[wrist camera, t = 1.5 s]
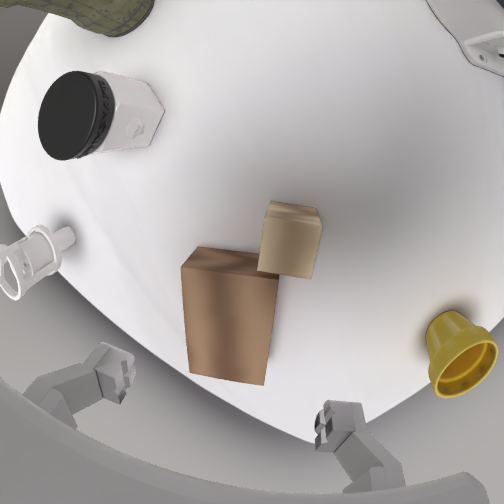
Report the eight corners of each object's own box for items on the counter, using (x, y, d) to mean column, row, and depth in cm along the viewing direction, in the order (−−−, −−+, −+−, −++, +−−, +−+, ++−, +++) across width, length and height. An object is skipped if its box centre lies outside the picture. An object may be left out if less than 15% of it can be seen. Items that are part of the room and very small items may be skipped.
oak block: (316, 208, 30) (322, 227, 23) (308, 250, 32) (311, 279, 25) (270, 200, 30) (264, 218, 24) (264, 243, 32) (257, 270, 26)
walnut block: (281, 255, 33) (278, 279, 27) (268, 355, 39) (263, 385, 33) (198, 245, 34) (180, 266, 28) (201, 344, 40) (189, 372, 34)
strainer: (89, 228, 35) (13, 274, 21) (80, 264, 38) (16, 315, 24) (59, 205, 34) (-16, 240, 20) (52, 241, 37) (-13, 282, 23)
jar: (144, 162, 30) (77, 179, 19) (97, 138, 30) (28, 148, 19) (175, 94, 27) (114, 76, 16) (124, 75, 26) (56, 60, 15)
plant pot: (407, 321, 33) (430, 370, 24) (466, 286, 30) (500, 326, 21) (420, 363, 36) (437, 408, 27) (472, 333, 33) (497, 373, 24)
